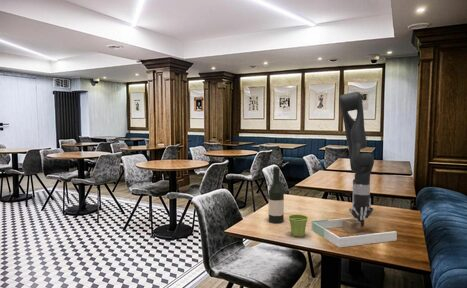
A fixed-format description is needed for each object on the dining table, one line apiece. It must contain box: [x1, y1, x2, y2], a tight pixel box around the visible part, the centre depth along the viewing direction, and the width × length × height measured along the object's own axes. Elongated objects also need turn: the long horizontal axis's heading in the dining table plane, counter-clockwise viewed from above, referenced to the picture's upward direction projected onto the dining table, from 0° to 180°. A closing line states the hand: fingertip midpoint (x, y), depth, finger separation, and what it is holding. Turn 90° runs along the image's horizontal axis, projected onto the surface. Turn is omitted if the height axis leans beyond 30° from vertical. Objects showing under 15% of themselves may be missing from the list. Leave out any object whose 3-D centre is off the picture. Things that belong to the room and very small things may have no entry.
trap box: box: [310, 217, 398, 248], centre depth 152 cm, size 30×24×5 cm
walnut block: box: [342, 219, 362, 234], centre depth 158 cm, size 6×6×5 cm
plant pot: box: [287, 213, 309, 238], centre depth 152 cm, size 9×9×9 cm
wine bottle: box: [268, 166, 285, 225], centre depth 172 cm, size 8×8×30 cm
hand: (360, 226), depth 159 cm, fingers closed
